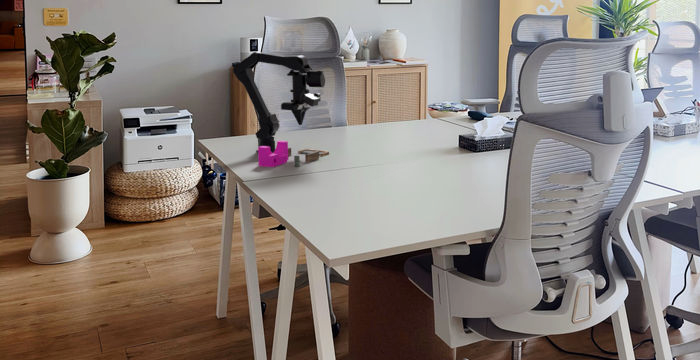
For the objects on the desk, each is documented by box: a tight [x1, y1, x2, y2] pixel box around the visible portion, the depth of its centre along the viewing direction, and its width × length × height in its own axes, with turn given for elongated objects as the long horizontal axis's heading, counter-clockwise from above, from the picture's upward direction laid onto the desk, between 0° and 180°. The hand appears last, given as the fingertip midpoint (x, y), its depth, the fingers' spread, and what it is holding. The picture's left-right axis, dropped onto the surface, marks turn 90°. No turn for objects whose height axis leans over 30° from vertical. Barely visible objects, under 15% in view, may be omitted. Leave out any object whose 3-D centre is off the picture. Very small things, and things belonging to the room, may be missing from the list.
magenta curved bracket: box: [257, 140, 289, 168], centre depth 286 cm, size 15×6×8 cm, turn 151°
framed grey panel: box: [288, 147, 330, 168], centre depth 294 cm, size 18×27×4 cm, turn 149°
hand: (300, 124), depth 302 cm, fingers closed
